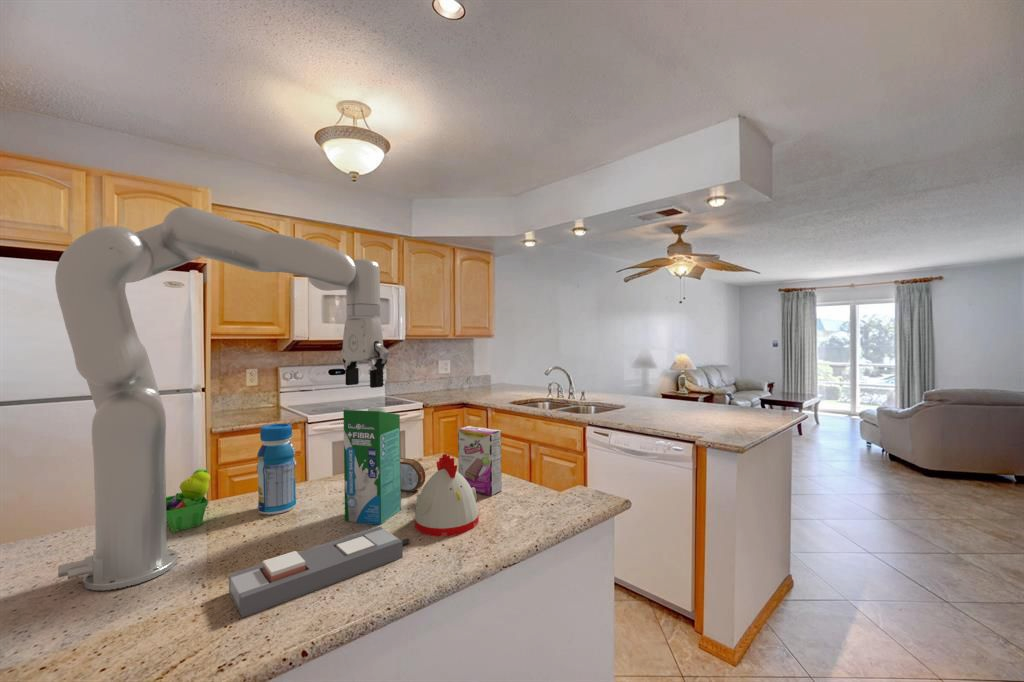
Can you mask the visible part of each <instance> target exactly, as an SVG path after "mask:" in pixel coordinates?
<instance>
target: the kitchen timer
mask: <svg viewBox="0 0 1024 682" xmlns="http://www.w3.org/2000/svg"><path fill="white" fill-rule="evenodd" d="M436 467H437V471H436V472H435V473H434V474H432V475H431V476H430V477H429V479H428V480H427V481H426V483H424V485H423V488H422V489H421V492H420V494H419V493H418V494H416V502H415V503H416V507H415V513H414V528H415V529H416V530H417V531H418V532H419V533H421V534H423V535H427V536H432V537H450V536H457V535H460V534H463V533H464V534H465V533H468V532H469V531H471V530H473V529H475V528H476V526H477V525H478V524H479V520H480V519H479V508H478V504H477V502H476V501H477V499H478V494H477V493H476V490H475V488H474V487H472V488H471V487H470V485H469V483H468V482H467V481H466V479H465V478H464V477H463V476H462V475H461V474H460V473H459V471H457V470H458V464H455V457H451V455H448V453H443V454H442V456H441V457H439V458H438V460H437V461H436Z"/></svg>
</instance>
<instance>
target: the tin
mask: <svg viewBox="0 0 1024 682" xmlns="http://www.w3.org/2000/svg"><path fill="white" fill-rule="evenodd" d="M400 477H401V492H408V493H413V492H415V491H417V490H418V489H421V488H422V487H424V485H425V482H426V470H425V469H424V467H423V465H422V464H421V463H420V462H419V461H418V460H416V459H412V458H405V457H400Z"/></svg>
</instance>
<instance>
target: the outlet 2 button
mask: <svg viewBox="0 0 1024 682" xmlns="http://www.w3.org/2000/svg"><path fill="white" fill-rule="evenodd" d="M336 547H337V549H338V550H339V551H340V552H341V553H342V554H343V555H344V556H346V557H347V556H349V555H352V554H355V553H358V552H361V551H364V550H367V549H370V548H373V547H375V545H374V544H373V543H371V542H370V541H369V540H367V539H366V538H365V537H363V536H362V537H359V538H355V539H352V540H349V541H346V542H343V543H340V544H337V545H336Z"/></svg>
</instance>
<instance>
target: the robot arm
mask: <svg viewBox="0 0 1024 682" xmlns="http://www.w3.org/2000/svg"><path fill="white" fill-rule="evenodd" d="M201 257H202V258H204V259H205V258H206V259H210V260H214V261H218V262H221V263H225V264H228V265H231V266H236V267H239V268H243V269H245V270H247V271H252V272H258V273H284V274H290V275H291V274H292V275H297V276H300V277H301V276H302V277H305V278H307V280H308V281H309V283H310V284H311V285H312V286H313V287H315V288H316V289H318V290H321V291H325V292H326V291H331V292H332V291H342V290H343V291H345V293H346V295H345V296H346V297H345V299H346V306H345V307H346V319H345V321H344V326H343V327H344V329H343V337H342V349H341V350H340V353H341V356H342V363H343V364H344V365H343V368H344V369H345V385H346V386H354V385H356V386H357V385H359V382H360V381H359V377H360V376H359V375H360V373H359V370H360V369H359V367H358V365H359V364H360V362H363V363H364V362H368V365H369V366H370V370H369V387H370V388H371V389H374V388H382V387H384V370H385V368H386V364H387V362H388V356H389V350H388V349H387V348H386V347H385V346H384V340H383V329H382V322H381V275H380V274H381V271H380V270H381V268H380V265H379V263H378V262H377V261H375V260H372V259H363V258H357V259H352V257H351V256H349V255H348V254H346V253H345V252H343V251H341V250H338V249H336V248H334V247H329V246H327V245H324V244H322V243H318V242H315V241H312V240H308V239H305V238H299V237H295V236H291V235H286V234H282V233H281V234H280V233H276V232H270V231H266V230H263V229H259V228H257V227H253V226H250V225H248V224H244V223H242V222H239V221H237V220H233V219H229V218H227V217H224V216H221V215H218V214H215V213H213V212H212V213H211V212H209V211H206V210H202V209H200V208H196V207H191V206H180V207H179V206H178V207H175V208H174V209H172V210H171V211H169V212H168V213H167V214H166V215H165V217H164V218H163V222H161V223H159V224H156V225H153V226H150V227H148V228H145V229H141V230H139V231H134V230H132V229H130V228H126V227H123V226H118V225H117V226H116V225H108V226H102V227H98V228H94V229H92V230H89V231H88V232H85V233H83V234H82V235H81V236H79V237H77V238H76V239H75V240H74V241H72V242H71V243H70V244H69V245H68V246H67V247H66V248H65V250H64V251H63V252H62V254H61V256H60V257H59V260H58V263H57V266H56V270H55V276H54V277H55V278H54V279H55V280H54V283H55V284H54V285H55V290H56V291H55V292H56V297H57V301H58V304H59V306H60V307H59V308H60V311H61V314H62V317H63V318H62V319H63V320H64V321H63V322H64V325H65V328H66V332H67V336H68V339H69V342H70V345H71V348H72V353H73V357H74V362H75V363H74V364H75V367H76V371H78V373H79V375H81V377H82V378H83V379H85V380H86V383H87V386H88V389H89V391H90V392H89V393H90V394H91V398H92V402H93V404H94V407H95V410H96V411H95V413H94V416H93V418H92V419H93V420H92V421H91V422H92V424H91V443H92V444H91V445H92V456H93V477H94V478H93V484H94V485H93V487H94V488H93V489H94V490H93V491H94V520H95V521H94V525H95V526H94V527H95V529H94V530H95V531H94V532H95V535H94V537H95V549H93V551H92V553H93V554H92V555H88V556H85V557H84V559H82V560H77V561H71V562H67V563H62V564H59V565H58V566H57V567H58V568H57V574H58V575H57V576H58V577H57V578H63V577H66V576H67V580H70V579H74V578H78V577H81V576H83V579H82V580H83V582H82V583H83V587H85V588H86V589H87V590H90V589H91V591H112V590H111V589H113V590H117V588H119V589H123V588H122V587H124V588H127V587H126V586H128V587H132V586H135V585H140V584H142V583H144V582H148V581H149V580H152V579H154V578H157V577H159V576H160V575H163V574H164V573H166V572H167V571H169V570H170V569H172V568H173V567H174V566H175V565H176V564H177V562H178V560H179V559H178V557H179V556H178V552H177V551H176V550H175V549H172V548H168V545H167V544H168V543H167V541H168V536H167V532H168V531H167V527H168V526H167V520H166V497H167V483H166V482H167V480H166V479H167V475H166V474H167V473H166V469H167V468H166V433H167V432H166V430H167V423H166V421H167V420H166V419H167V417H166V412H165V407H164V403H163V401H162V398H161V395H160V391H159V389H158V385H157V382H156V378H155V374H154V372H153V371H154V370H153V369H152V365H151V361H150V358H149V355H148V350H147V349H146V347H145V346H144V345H143V343H142V342H141V340H140V339H139V335H138V333H137V330H136V326H135V322H134V320H133V316H132V312H131V307H130V304H129V301H128V298H127V294H126V285H127V284H128V283H136V282H140V281H142V280H146V279H148V278H151V277H154V276H156V275H159V274H161V273H164V272H166V271H169V270H173V269H175V268H177V267H180V266H183V265H185V264H187V263H190V262H192V261H195V260H197V259H199V258H201ZM131 585H132V586H131Z"/></svg>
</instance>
